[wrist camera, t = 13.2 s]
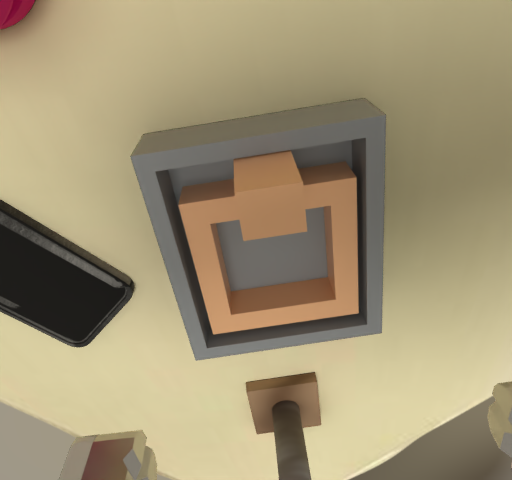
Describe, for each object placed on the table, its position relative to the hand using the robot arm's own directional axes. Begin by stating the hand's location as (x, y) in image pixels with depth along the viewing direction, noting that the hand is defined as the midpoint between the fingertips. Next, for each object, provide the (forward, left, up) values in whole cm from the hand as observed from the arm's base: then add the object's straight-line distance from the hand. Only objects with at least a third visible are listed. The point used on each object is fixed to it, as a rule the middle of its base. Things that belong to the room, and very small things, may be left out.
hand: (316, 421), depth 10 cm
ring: (0, +5, -17) cm, 18 cm away
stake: (+1, +23, -18) cm, 29 cm away
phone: (+18, +5, -19) cm, 26 cm away
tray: (0, +5, -18) cm, 19 cm away
